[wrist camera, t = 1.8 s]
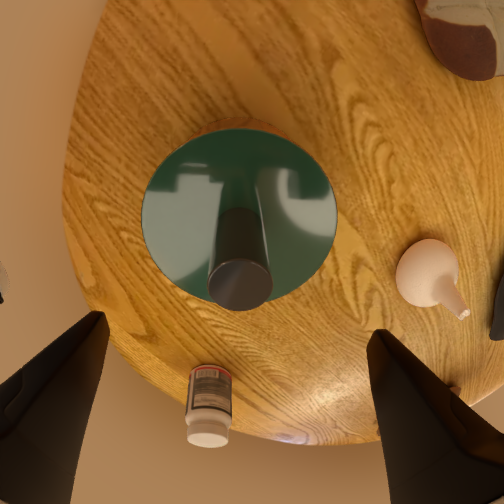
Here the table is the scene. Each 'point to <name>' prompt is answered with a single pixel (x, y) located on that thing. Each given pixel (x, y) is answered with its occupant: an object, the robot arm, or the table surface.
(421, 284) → the garlic bulb
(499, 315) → the casserole
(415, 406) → the robot arm
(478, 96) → the table surface
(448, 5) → the bread
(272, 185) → the lid
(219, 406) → the pill bottle
